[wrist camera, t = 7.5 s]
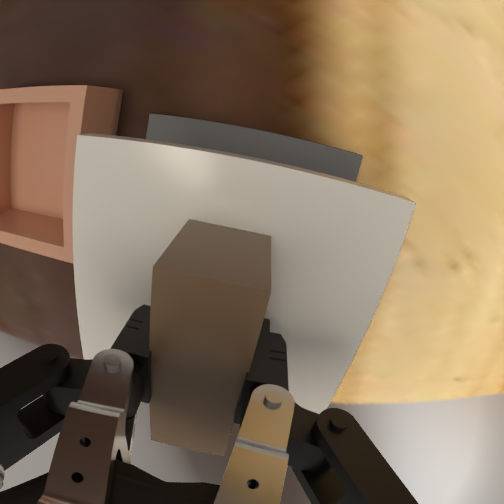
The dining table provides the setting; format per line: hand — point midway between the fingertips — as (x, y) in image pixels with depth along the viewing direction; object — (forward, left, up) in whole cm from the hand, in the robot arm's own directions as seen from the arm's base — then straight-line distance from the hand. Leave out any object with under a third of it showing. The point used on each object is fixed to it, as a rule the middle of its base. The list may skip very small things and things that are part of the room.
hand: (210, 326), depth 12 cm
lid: (0, 0, -2) cm, 2 cm away
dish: (-3, -15, -11) cm, 19 cm away
